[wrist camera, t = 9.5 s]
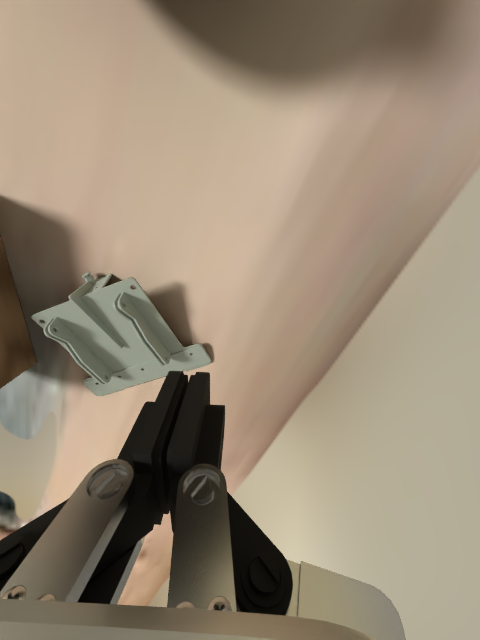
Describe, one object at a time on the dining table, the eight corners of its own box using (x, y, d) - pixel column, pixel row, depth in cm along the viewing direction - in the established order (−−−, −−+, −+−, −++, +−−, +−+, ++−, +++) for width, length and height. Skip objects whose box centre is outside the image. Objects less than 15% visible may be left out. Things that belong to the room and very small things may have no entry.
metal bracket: (-9, 328, 23) (142, 271, 21) (29, 293, 28) (156, 242, 25) (99, 414, 32) (216, 380, 29) (115, 376, 36) (216, 344, 34)
